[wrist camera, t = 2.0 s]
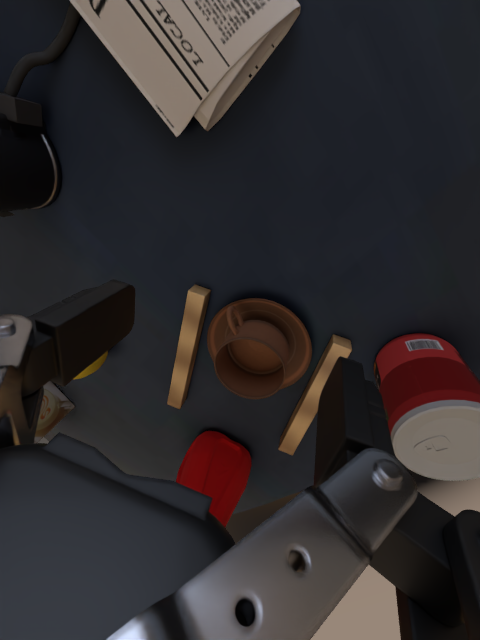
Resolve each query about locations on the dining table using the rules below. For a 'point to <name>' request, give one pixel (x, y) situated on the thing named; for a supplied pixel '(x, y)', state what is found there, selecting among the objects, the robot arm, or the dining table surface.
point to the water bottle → (216, 471)
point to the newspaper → (190, 49)
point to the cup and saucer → (258, 347)
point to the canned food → (430, 406)
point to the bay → (187, 355)
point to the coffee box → (51, 410)
